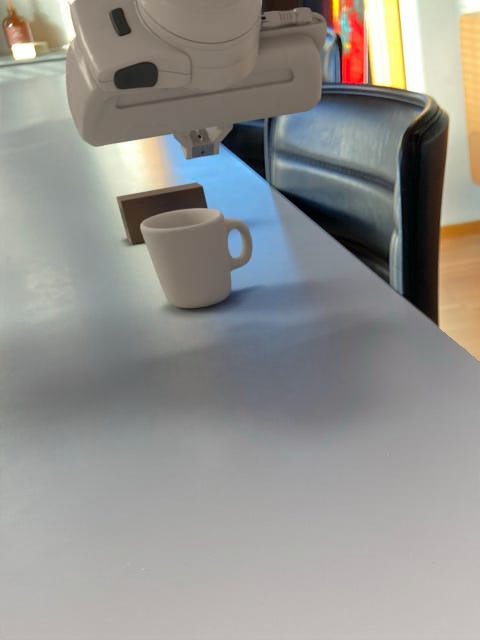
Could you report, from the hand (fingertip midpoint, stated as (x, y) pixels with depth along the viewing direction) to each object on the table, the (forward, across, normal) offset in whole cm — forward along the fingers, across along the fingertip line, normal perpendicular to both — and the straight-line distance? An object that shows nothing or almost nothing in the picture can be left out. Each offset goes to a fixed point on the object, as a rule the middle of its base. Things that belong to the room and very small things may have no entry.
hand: (199, 150), depth 89 cm
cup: (+16, 0, +4) cm, 17 cm away
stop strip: (+37, -2, -17) cm, 41 cm away
